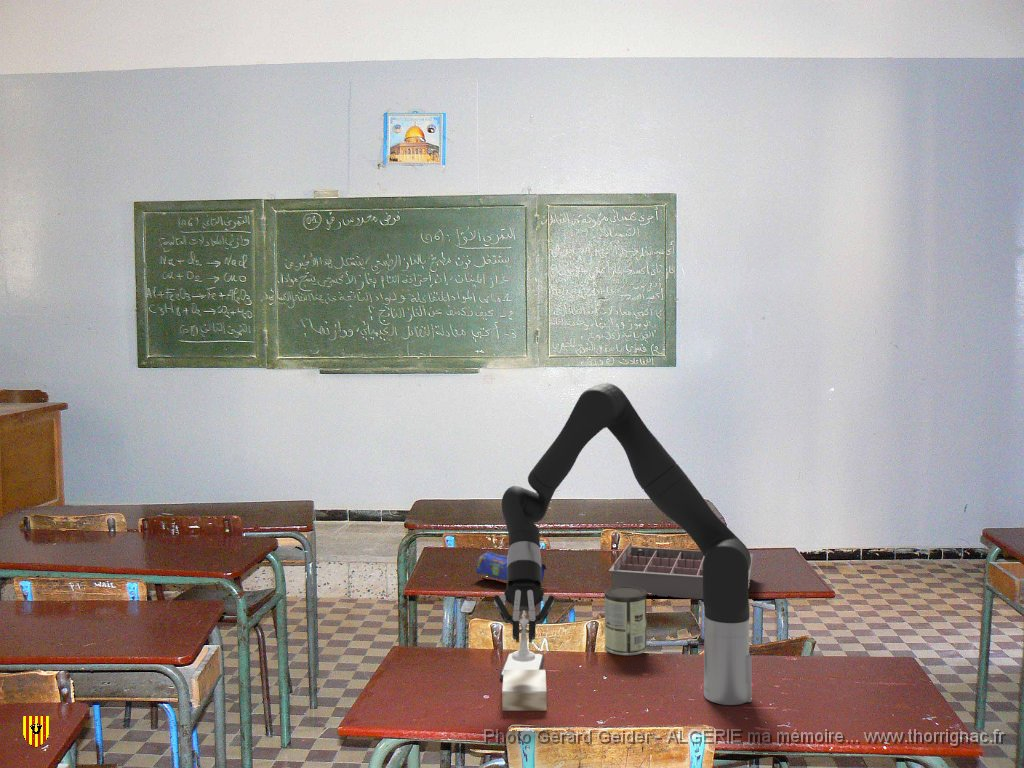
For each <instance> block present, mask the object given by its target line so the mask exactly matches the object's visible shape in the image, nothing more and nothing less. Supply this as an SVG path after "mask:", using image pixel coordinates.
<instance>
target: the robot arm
mask: <svg viewBox="0 0 1024 768" xmlns="http://www.w3.org/2000/svg"><path fill="white" fill-rule="evenodd" d="M606 428H607V430H608V431H610V433H611V434H612V435H613V436H614V437H615V439H616V440H617V442H619V445H620V446H621V447H622V448H623V450H624V452H625V455H626V456H627V459H628V462H629V465H630V468H631V471H632V473H633V475H634V478H635V480H636V482H637V483H638V485H639V486H640V488H641V489H642V490H643V492H644V493H645V494H646V495H647V496H648V498H649V499H650V500H651V501H652V503H653V504H654V505H655V506H656V507H657V508H658V510H660V511H661V512H662V513H663V515H665V516H666V517H667V518H669V519H670V520H671V521H673V522H674V524H676V525H678V526H679V527H681V528H682V529H683V531H684V532H686V533H687V534H688V536H689V537H690V538H691V539H692V541H693V542H694V543H695V544H696V546H697V548H698V549H699V551H701V552H702V553H703V555H704V560H703V599H702V603H703V604H702V605H703V608H704V609H703V611H704V613H703V614H704V618H703V619H704V624H703V625H704V628H703V629H704V630H703V631H704V633H703V634H704V636H703V637H704V638H703V641H704V642H703V643H704V644H703V647H704V649H703V696H704V698H705V699H706V700H708V701H709V702H711V703H715V704H719V705H722V706H723V705H724V706H737V705H738V706H739V705H743V704H745V703H752V681H753V680H752V677H753V676H752V674H753V673H752V672H753V659H752V656H751V655H750V603H749V602H750V600H749V591H748V576H749V569H750V565H751V557H750V554H751V553H750V550H749V549H748V547H747V546H746V544H745V543H744V542H743V541H742V540H740V539H739V537H737V536H736V535H735V533H734V532H733V531H732V530H731V529H730V528H728V526H727V525H726V524H725V523H724V522H723V521H722V520H721V519H720V518H719V517H718V516H717V515H716V513H715V512H714V511H713V510H712V509H711V507H710V506H709V504H708V502H707V501H706V500H705V498H704V496H703V495H702V494H701V493H700V491H699V490H698V488H697V487H696V486H695V485H694V483H693V482H692V480H691V479H690V478H689V477H688V475H687V474H686V473H685V472H684V470H683V469H682V468H681V467H680V466H679V464H678V463H677V461H676V460H675V459H674V458H673V457H672V456H671V455H670V454H669V452H667V450H666V449H665V447H664V446H663V445H662V444H661V442H660V441H659V440H658V438H657V437H655V435H654V434H653V432H652V431H651V430H649V428H648V426H647V425H646V424H645V423H644V421H643V420H642V418H641V417H640V415H639V413H638V412H637V410H636V409H635V407H634V406H633V404H632V402H631V401H630V400H629V398H628V397H627V395H626V394H625V393H624V391H623V390H622V389H621V388H620V387H618V386H617V385H615V384H613V383H609V382H603V383H602V382H601V383H599V384H596V385H594V386H592V387H589V388H587V389H586V390H584V391H583V392H582V393H581V394H580V395H579V397H578V399H577V401H576V403H575V405H574V407H573V408H572V411H571V412H570V414H569V416H568V419H567V420H566V422H565V424H564V426H563V428H562V429H561V431H560V432H559V434H558V435H557V437H556V438H555V439H554V441H553V442H552V444H551V445H550V446H549V447H548V448H547V450H546V451H545V452H544V454H543V455H542V456H541V458H540V459H539V460H538V461H537V463H536V464H535V465H534V466H533V468H532V469H531V471H529V474H528V476H527V482H528V484H529V487H531V488H532V489H533V490H534V491H535V492H534V491H533V490H532V491H531V490H529V489H527V488H524V487H522V486H517V485H512V486H509V487H508V488H507V489H506V490H505V491H504V493H503V495H502V499H501V511H502V512H501V513H502V516H503V519H504V522H505V523H504V524H505V526H506V530H507V533H508V551H507V556H508V557H507V584H506V588H505V590H504V592H503V593H502V594H501V595H500V594H495V595H494V596H493V603H494V606H495V609H497V611H498V613H499V615H500V616H501V618H502V620H503V621H504V623H505V624H510V625H512V639H513V640H515V643H520V633H519V630H520V622H519V620H520V613H521V612H523V610H524V611H525V612H528V620H529V622H528V630H529V633H528V643H532V642H533V641H535V639H536V626H537V625H538V624H539V625H540V624H544V622H545V621H546V619H547V617H548V616H549V614H550V612H551V610H552V608H553V607H554V604H555V596H554V595H547V594H546V593H544V592H545V591H544V589H543V587H542V582H541V567H542V565H541V563H542V556H541V549H540V548H541V547H540V546H541V545H540V544H541V543H540V542H541V540H540V538H541V535H540V529H539V527H538V526H537V525H536V523H538V522H541V520H543V519H544V517H545V516H546V514H547V511H548V510H549V509H548V508H549V505H550V503H551V500H552V498H553V496H554V494H555V492H556V490H557V489H558V487H559V486H560V485H561V484H562V482H563V481H564V480H565V479H566V477H567V476H568V475H569V473H570V472H571V470H572V469H573V466H574V465H575V463H576V461H577V459H578V457H579V455H580V454H581V452H582V451H583V449H584V448H585V446H586V445H587V444H589V443H590V441H591V440H592V439H593V438H594V437H595V436H597V435H598V434H600V432H601V431H602V430H604V429H606ZM506 601H507V603H508V604H509V605H510V606H511V607H512V608H513V613H512V615H511V614H510V612H509V611H508V609H507V608H506V606H505V605H506ZM541 601H542V604H543V606H542V608H541V610H540V612H539V614H536V608H537V607H538V605H539V604H540V603H541Z"/></svg>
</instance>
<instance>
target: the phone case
mask: <svg viewBox="0 0 1024 768" xmlns="http://www.w3.org/2000/svg"><path fill="white" fill-rule="evenodd" d="M512 654H513V652H509V653H508V654H507V655H506V659H505V661H504V663H503V666H502V668H501V672H500V675H499V679H500V681H502V682H503V674H504V670H543V666H544V660H545V655H544V654H543V653H534V654H535V659H534V660H532V661H528V662H520V661H516V660H514V659H512Z"/></svg>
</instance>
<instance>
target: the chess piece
mask: <svg viewBox="0 0 1024 768" xmlns="http://www.w3.org/2000/svg"><path fill="white" fill-rule="evenodd" d="M526 616H527V612H526V611H525V610H523V611H522V614H521V618H519V626H520V628H521V629H520V628H519V634H521V635H520V642H519V643H520V644H519V648H518V649H517V650H516V651H514V652H512V653H513V654H512V659H514V660H516V661H520V662H528V661H532V660H534V659H535V654H536V653H534V652H533V650H532V651H531V650H530V649H529V648H528V641H527V640H528V639H527V634H529V629H527V627H528V626H529V622H530V621H529V618H526Z"/></svg>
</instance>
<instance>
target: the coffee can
mask: <svg viewBox="0 0 1024 768" xmlns="http://www.w3.org/2000/svg"><path fill="white" fill-rule="evenodd" d="M603 595H604V649H605V651H607V652H608V653H610V654H613V655H619V656H636V655H637V656H638V655H640V654H643V653H645V652H646V651H647V596H648V595H647V592H646V591H645V590H644V589H641V588H638V587H632V586H617V587H608V588H606V589H604V591H603ZM629 653H630V654H629Z"/></svg>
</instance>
